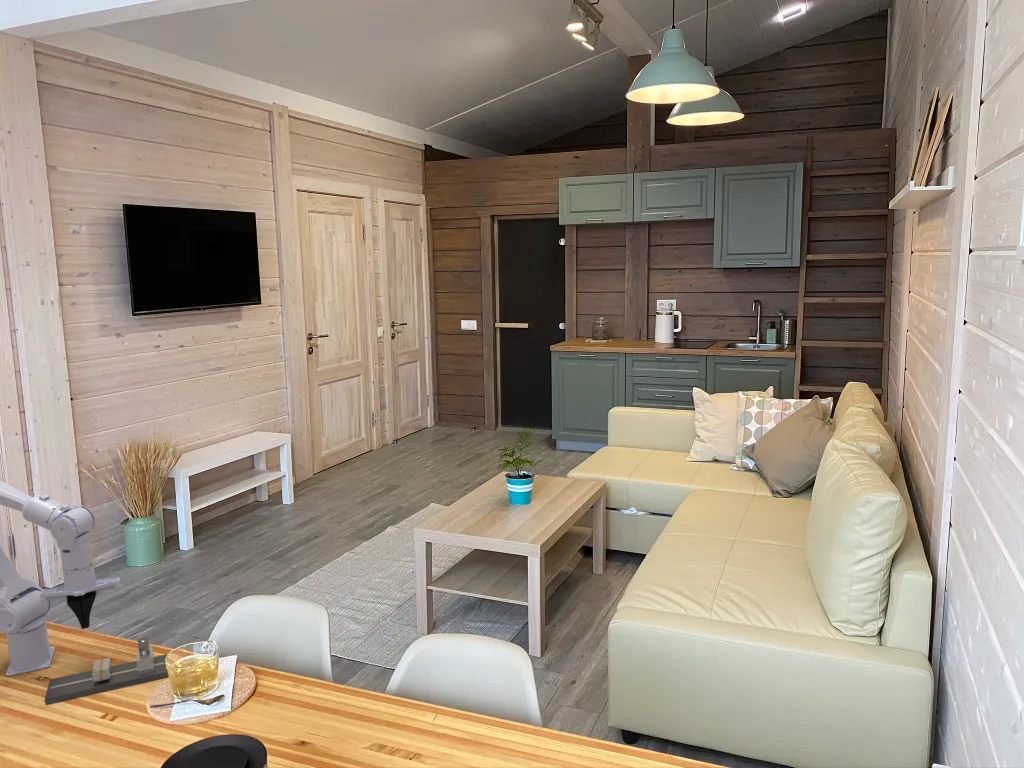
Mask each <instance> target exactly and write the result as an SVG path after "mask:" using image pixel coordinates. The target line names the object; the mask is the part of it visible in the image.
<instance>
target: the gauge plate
mask: <svg viewBox="0 0 1024 768" xmlns="http://www.w3.org/2000/svg"><path fill="white" fill-rule="evenodd" d="M149 640H150V639H149V637H142V638H140V639H138V640H137V644H138V648H137V649H136V660H133V661H130V662H125V663H120V664H119V663H118V664H114V665H111V674H110V679H106V680H103V681H97V682H93V676H92V670H93V669H92V670H87V671H82V672H78V673H73V674H68V675H64V676H59V677H54V678H50V679H49V681H48V685H47V688H46V689H47V690H46V693H45V697H44V703H45V705H46V706H47V705H51V704H53V703H54V704H55V703H59V702H63V701H68V700H72V699H77V698H82V697H85V696H90V695H94V694H99V693H103V692H104V693H105V692H107V691H112V690H116V689H121V688H126V687H129V686H135V685H139V684H144V683H149V682H152V681H157V680H160V679H166V678H168V677H169V676H167V669H166V665H165V658H166V656H167V657H168V655H167V653H165V654H162V655H158V656H154V646H152V645H151V646H150V641H149Z"/></svg>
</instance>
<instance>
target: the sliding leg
mask: <svg viewBox="0 0 1024 768" xmlns="http://www.w3.org/2000/svg"><path fill="white" fill-rule="evenodd" d="M111 662H112V660H111V657H107V658H106V657H105V658H100V659H95V660H94V661H93V665H92V676H93V682H97V681H103V680H106V679H110V674H111V666H112V663H111Z"/></svg>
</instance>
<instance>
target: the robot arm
mask: <svg viewBox="0 0 1024 768" xmlns="http://www.w3.org/2000/svg"><path fill="white" fill-rule="evenodd" d="M50 497H51V496H50V495H48V494H45V493H44V494H36V495H34V496H31V495H29V494H27V493H25V492H23V491H21V490H19V489H17V488H15V487H13V486H11V485H9V484H7V483H6V482H4V481H2V480H0V505H1V506H4V507H7V508H9V509H12V510H15V511H18V512H20V513H22V518H23V520H25V521H27V522H29V523H32V524H34V525H36V526H39V527H41V528H44V529H46V530H49V531H50V534H51V536H52V537H53V539H55V541H56V545H57V548H58V550H60V551H59V553H60V560H61V567H62V575H63V583H64V584H62V585H59V586H55V587H52V588H47V589H43V588H41V587H40V586H39V584H38V583H37V581H36V580H33V579H32V580H31V579H28V578H24V577H22V576H21V575H20V573H19V572H18V570H17V568H16V567H15V566H14V565H13V563H12V561H11V560H10V558H9V557H8V555H7V553H6V552H5V551H4V550H3V548H2V547H1V546H0V631H1V632H3V634H5V635H6V640H7V647H8V648H7V649H8V655H9V662H10V663H9V665H8V668H7V671H6V673H5V675H6V677H10V676H15V675H20V674H24V673H29V672H34V671H40V670H43V669H49V668H50V667H51V665H52V661H53V657H54V653H55V649H56V647H55V646H50V641H49V633H48V626H47V623H46V620H47V619H48V613H49V612H50V611H51V609H52V606H53V602H52V601H53V600H59V599H62V598H63V599H64V598H66V604H67V606H68V608H69V609H70V610H71V611H72V612H73V613H74V616H76V618H77V620H78V622H79V624H80V629H81V630H84V629H89V627H90V619H91V618H90V617H91V611H92V608H93V605H94V602H95V601H96V597H97V592H102V591H110V590H115V591H116V590H120V589H121V581H120V577H119V576H118V577H112V578H108V577H107V578H96V573H95V563H94V554H93V553H94V552H93V546H92V537H91V531H92V530H93V529H94V527H95V524H96V516H95V515H94V513H93V511H92V510H91V509H89V507H86V506H85V505H77V506H72V505H71V506H70V505H69V504H67V503H65V504H64V503H62V502H60V501H57V500H55V499H52V498H50ZM15 597H16V598H15Z"/></svg>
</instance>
